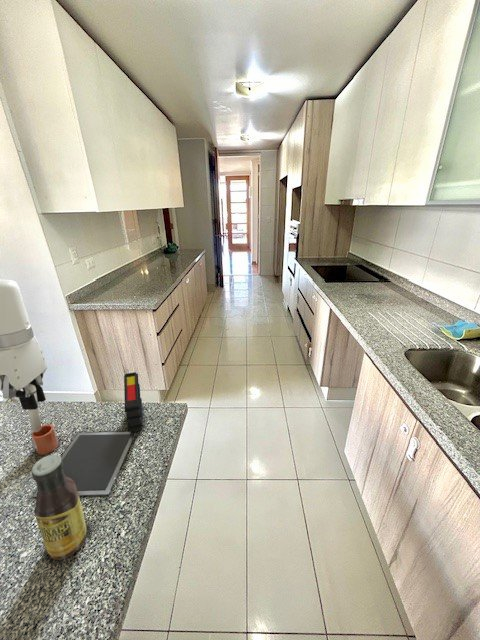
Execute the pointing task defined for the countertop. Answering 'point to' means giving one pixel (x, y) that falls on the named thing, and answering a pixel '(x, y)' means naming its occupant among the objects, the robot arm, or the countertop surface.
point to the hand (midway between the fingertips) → (34, 404)
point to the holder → (45, 439)
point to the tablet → (95, 460)
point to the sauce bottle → (58, 508)
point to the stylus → (34, 413)
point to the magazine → (133, 402)
